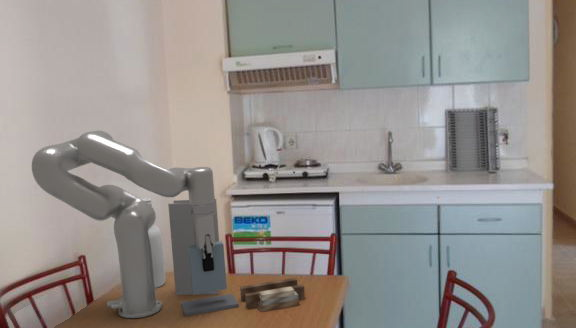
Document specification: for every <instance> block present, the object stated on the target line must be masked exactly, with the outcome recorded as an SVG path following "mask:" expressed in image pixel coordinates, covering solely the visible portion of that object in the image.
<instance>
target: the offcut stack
mask: <svg viewBox="0 0 576 328" xmlns="http://www.w3.org/2000/svg"><path fill="white" fill-rule="evenodd" d="M259 297H260V302H257V306H258V307H257V309H258V310H259V312H260V313H262V312H267V311H273V310H278V309H285V308H291V307H297V306H300V303H301V302H300V300H299V299H298V294H297V293H296V292H295V291H294V289H293V288H292V287H286V288H280V289H274V290H268V291H262V292H259Z"/></svg>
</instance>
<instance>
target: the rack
mask: <svg viewBox="0 0 576 328" xmlns="http://www.w3.org/2000/svg"><path fill="white" fill-rule="evenodd" d="M286 287H292V288H293V289H294V291H295V292H296V293H297V294H298V299H299V301H301V300H305V299H306V298H305V297H306V296H305V295H306V294H305V286H304V285H303V284H298V279H297V278H296V277H293V278H288V279H287V278H286V279H279V280H274V281H266V282H261V283H255V284H250V285H249V284H248V285H244V286H240V287H239V289H240V291H239V292H240V300H241V301H242V302H245V307H246V308H247V310H249V309H256V308H258V306H257V302H260V297H259V292H262V291H268V290H274V289H280V288H286Z"/></svg>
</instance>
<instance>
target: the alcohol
mask: <svg viewBox="0 0 576 328" xmlns="http://www.w3.org/2000/svg"><path fill="white" fill-rule="evenodd" d="M141 199H142V200H143V201H145V202H147V203H148V204H149V205H151V206H152V203H153V202H152V198H150V197H144V198H141ZM152 207H153V206H152ZM155 222H156V221H155ZM155 222H154V224H153V226H152V227H151V228H150V229H149V230H148V234H149V239H150V244H151V250H152V260H153V271H154V283H155V289H157V288H160V287H162V286H164V285H165V282H166V269H165V258H164V246H163V235H162V231H161V229H160V227H158V225H157V224H156V223H155Z"/></svg>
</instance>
